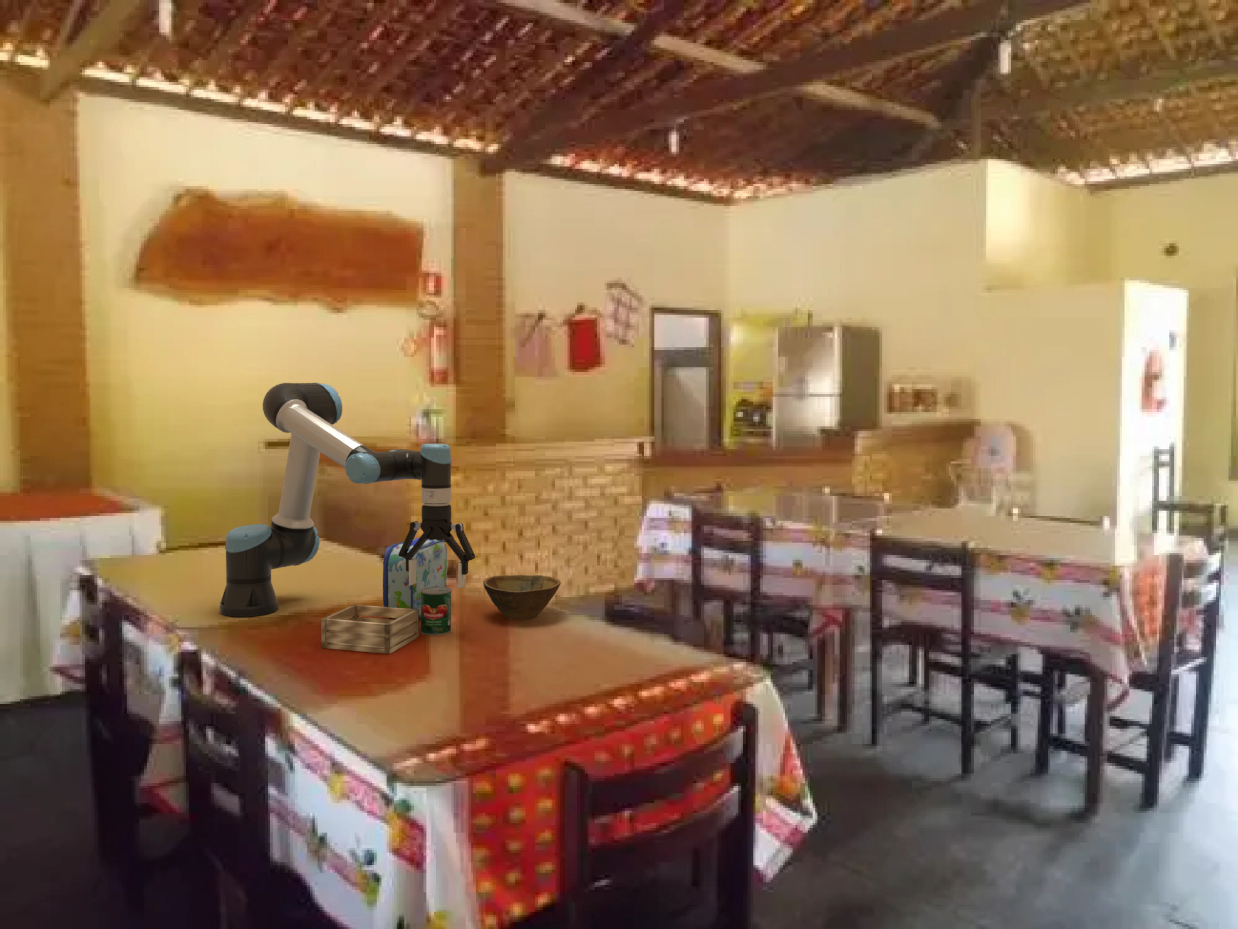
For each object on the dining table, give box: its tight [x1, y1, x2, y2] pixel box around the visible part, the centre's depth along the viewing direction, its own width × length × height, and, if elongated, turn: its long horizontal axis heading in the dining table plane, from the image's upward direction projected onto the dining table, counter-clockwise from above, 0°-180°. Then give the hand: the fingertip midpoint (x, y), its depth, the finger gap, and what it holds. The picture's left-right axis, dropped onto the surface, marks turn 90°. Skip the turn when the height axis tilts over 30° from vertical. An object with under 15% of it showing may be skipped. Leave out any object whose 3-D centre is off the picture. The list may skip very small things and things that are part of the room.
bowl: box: [482, 574, 561, 621], centre depth 263 cm, size 22×23×10 cm
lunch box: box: [382, 537, 448, 619], centre depth 265 cm, size 26×11×21 cm, turn 168°
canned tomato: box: [419, 586, 452, 636], centre depth 245 cm, size 8×8×11 cm
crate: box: [320, 604, 420, 655], centre depth 234 cm, size 18×16×7 cm
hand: (436, 585), depth 245 cm, fingers open, 13 cm apart
